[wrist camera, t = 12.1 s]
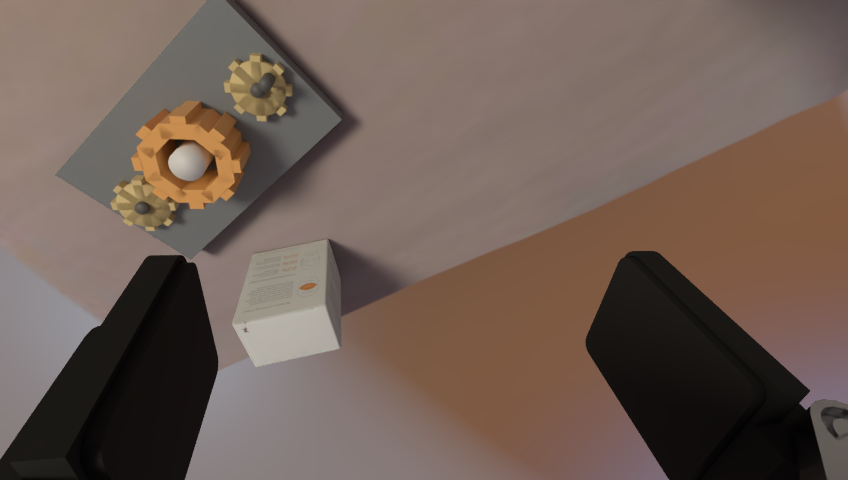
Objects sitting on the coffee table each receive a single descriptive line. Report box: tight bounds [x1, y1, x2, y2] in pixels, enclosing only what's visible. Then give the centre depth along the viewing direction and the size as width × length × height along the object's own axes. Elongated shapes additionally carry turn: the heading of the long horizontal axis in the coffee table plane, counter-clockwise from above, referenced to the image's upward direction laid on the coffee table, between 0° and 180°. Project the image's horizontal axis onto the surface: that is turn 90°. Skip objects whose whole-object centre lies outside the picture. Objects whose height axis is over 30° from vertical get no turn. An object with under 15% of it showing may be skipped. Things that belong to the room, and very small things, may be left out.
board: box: [55, 0, 342, 259], centre depth 33 cm, size 20×12×6 cm, turn 129°
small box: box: [232, 239, 341, 367], centre depth 40 cm, size 8×6×10 cm
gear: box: [131, 101, 251, 209], centre depth 33 cm, size 7×7×4 cm
